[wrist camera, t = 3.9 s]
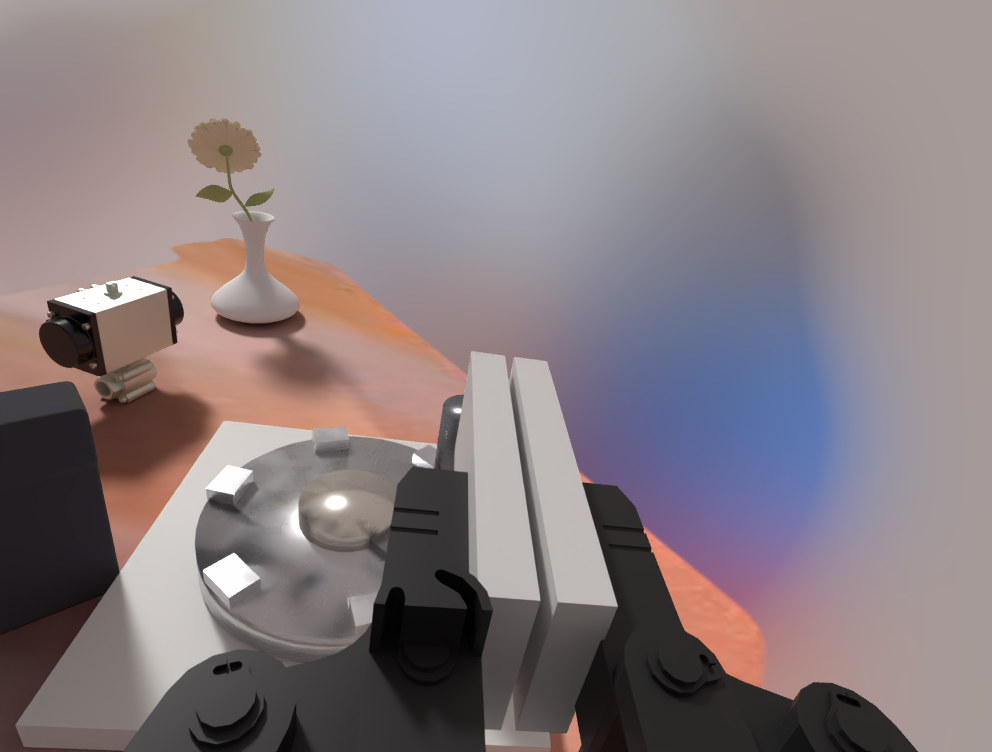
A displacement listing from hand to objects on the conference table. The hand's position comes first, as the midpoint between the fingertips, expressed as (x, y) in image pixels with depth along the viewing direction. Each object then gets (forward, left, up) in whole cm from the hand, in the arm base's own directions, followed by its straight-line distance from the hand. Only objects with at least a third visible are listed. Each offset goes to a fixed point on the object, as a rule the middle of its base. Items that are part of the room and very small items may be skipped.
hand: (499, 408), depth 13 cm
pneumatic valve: (-32, +40, -28) cm, 59 cm away
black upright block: (-26, +14, -28) cm, 41 cm away
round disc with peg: (-6, +20, -26) cm, 33 cm away
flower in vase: (-27, +63, -28) cm, 74 cm away
